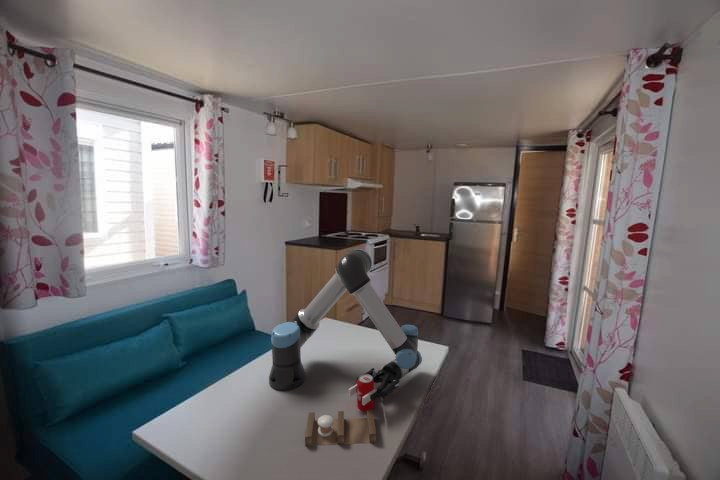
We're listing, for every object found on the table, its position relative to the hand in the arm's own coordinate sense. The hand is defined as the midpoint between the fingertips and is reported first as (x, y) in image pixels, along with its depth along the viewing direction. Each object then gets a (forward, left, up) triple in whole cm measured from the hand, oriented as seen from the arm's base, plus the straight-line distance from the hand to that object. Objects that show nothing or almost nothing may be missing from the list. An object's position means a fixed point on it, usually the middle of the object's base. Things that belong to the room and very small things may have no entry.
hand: (356, 397), depth 110 cm
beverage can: (+4, +4, -7) cm, 9 cm away
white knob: (-10, -8, -6) cm, 15 cm away
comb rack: (-5, -8, -7) cm, 12 cm away
